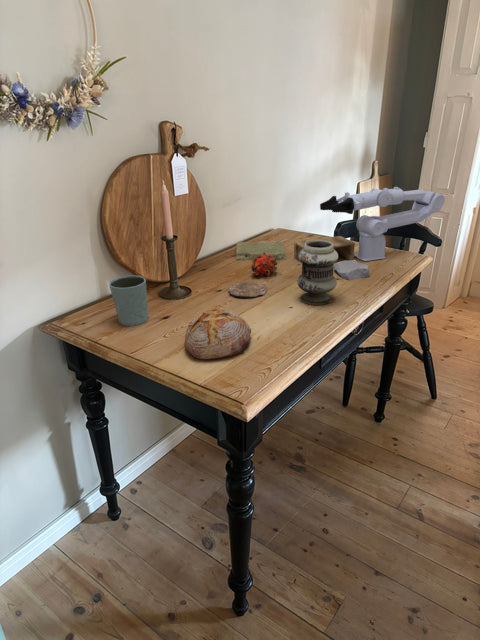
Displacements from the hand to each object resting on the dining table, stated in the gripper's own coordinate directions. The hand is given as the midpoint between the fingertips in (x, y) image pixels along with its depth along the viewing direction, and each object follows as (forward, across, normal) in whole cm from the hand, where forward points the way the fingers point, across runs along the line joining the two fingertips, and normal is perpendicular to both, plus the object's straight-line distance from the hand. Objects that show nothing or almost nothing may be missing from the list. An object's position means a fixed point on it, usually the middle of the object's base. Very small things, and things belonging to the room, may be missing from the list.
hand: (326, 208), depth 167 cm
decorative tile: (+15, -27, +19) cm, 36 cm away
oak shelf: (-3, -9, +21) cm, 23 cm away
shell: (+37, +9, +21) cm, 44 cm away
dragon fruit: (+25, -3, +20) cm, 32 cm away
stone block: (-2, +10, +23) cm, 25 cm away
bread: (+59, +38, +22) cm, 73 cm away
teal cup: (+76, +13, +19) cm, 79 cm away
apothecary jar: (+20, +24, +23) cm, 39 cm away
